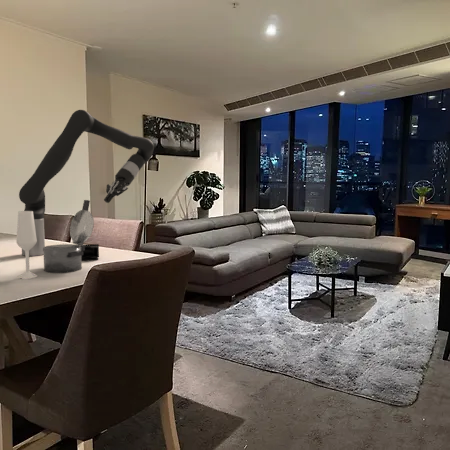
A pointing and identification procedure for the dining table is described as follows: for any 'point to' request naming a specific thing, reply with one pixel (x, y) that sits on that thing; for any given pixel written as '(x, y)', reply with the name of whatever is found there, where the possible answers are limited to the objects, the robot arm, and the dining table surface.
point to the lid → (82, 225)
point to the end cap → (90, 252)
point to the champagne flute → (26, 238)
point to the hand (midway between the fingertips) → (106, 201)
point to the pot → (63, 258)
